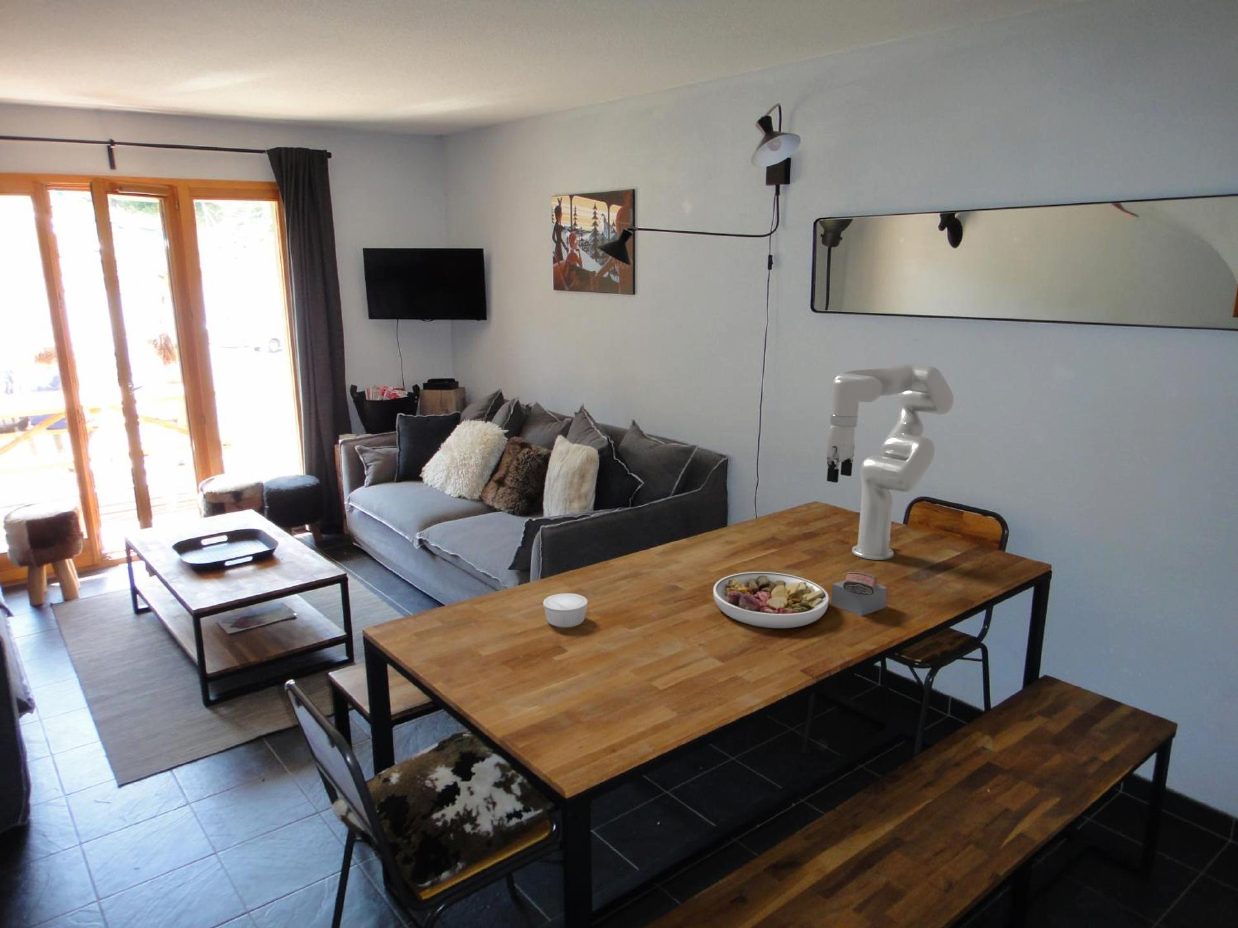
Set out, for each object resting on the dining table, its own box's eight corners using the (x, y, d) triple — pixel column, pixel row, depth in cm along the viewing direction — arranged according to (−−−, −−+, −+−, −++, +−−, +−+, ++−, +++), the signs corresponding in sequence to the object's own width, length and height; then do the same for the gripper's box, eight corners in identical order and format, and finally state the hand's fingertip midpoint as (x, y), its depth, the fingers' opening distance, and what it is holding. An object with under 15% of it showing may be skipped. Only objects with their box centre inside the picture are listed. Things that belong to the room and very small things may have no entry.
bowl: (745, 580, 244) (746, 554, 242) (844, 605, 227) (847, 577, 225) (691, 613, 220) (692, 585, 218) (798, 644, 203) (800, 613, 201)
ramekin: (535, 625, 211) (535, 605, 210) (555, 608, 221) (555, 590, 220) (576, 632, 207) (576, 612, 206) (594, 615, 217) (594, 596, 216)
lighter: (873, 597, 217) (876, 584, 226) (875, 585, 216) (878, 572, 225) (841, 590, 220) (846, 578, 229) (843, 578, 219) (847, 566, 228)
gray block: (854, 596, 233) (856, 576, 231) (884, 608, 225) (886, 587, 223) (830, 604, 227) (832, 583, 226) (860, 617, 219) (862, 595, 218)
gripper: (843, 415, 250) (838, 471, 254) (818, 423, 237) (814, 482, 241) (867, 418, 246) (862, 475, 250) (844, 426, 233) (839, 486, 237)
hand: (839, 478), depth 245 cm, fingers open, 9 cm apart
